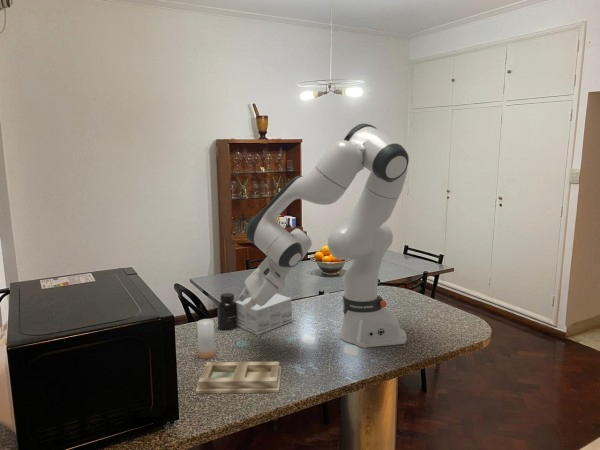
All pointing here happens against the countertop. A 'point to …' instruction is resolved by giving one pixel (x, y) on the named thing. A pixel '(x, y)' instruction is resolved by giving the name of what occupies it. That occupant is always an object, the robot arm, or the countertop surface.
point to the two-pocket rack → (240, 377)
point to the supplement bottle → (227, 311)
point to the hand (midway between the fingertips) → (241, 305)
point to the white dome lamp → (206, 338)
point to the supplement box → (265, 314)
